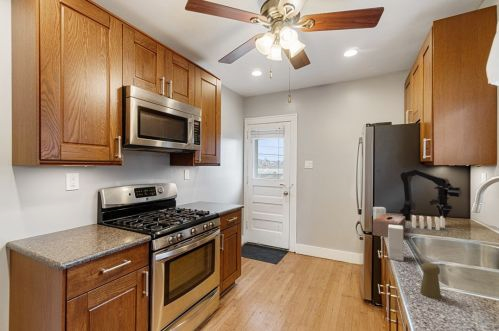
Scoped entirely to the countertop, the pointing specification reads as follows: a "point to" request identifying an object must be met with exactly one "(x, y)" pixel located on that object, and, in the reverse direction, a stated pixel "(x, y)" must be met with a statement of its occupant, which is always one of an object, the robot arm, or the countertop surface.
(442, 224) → the domino
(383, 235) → the tissue box cover
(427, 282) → the cork
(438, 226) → the domino
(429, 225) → the domino
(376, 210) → the small box
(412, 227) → the rubber mat
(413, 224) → the white angular block
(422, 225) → the domino
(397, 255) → the skincare box
